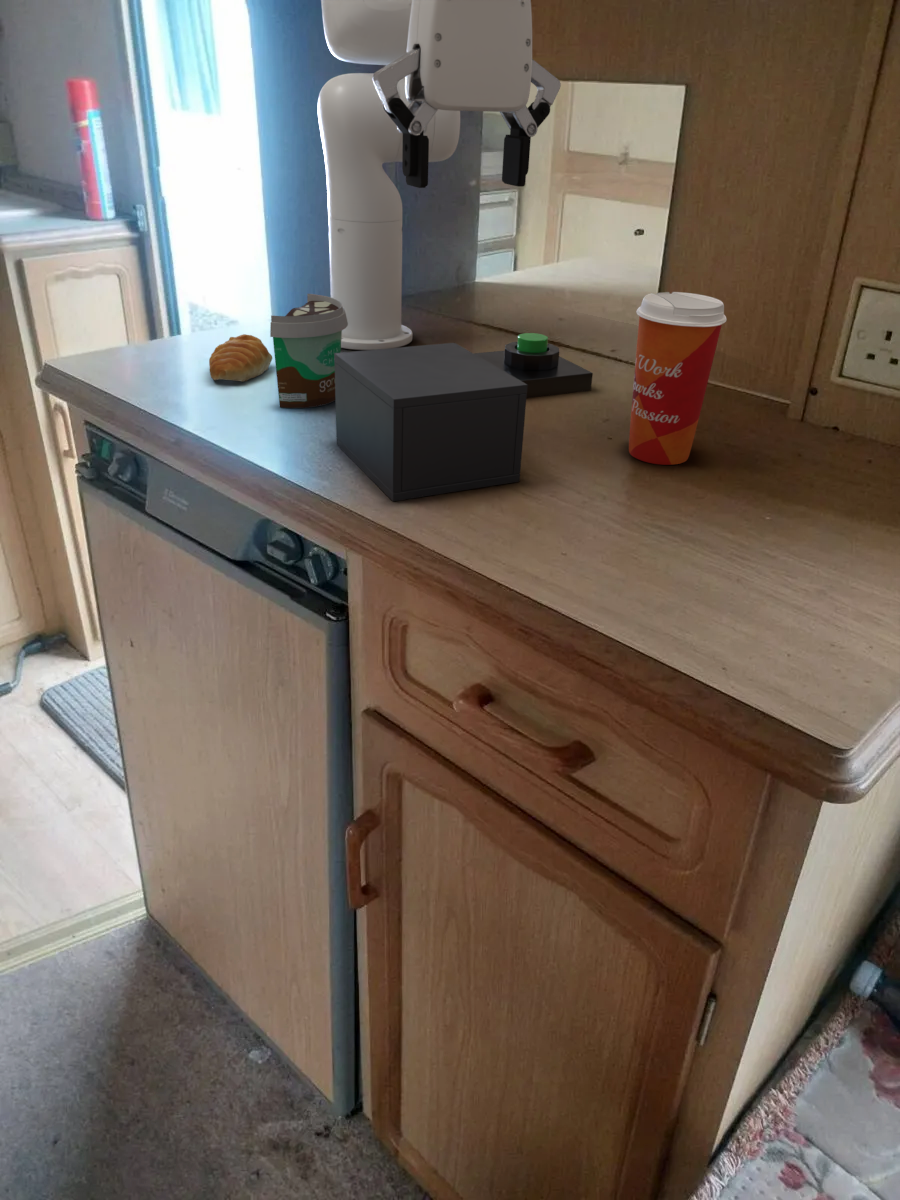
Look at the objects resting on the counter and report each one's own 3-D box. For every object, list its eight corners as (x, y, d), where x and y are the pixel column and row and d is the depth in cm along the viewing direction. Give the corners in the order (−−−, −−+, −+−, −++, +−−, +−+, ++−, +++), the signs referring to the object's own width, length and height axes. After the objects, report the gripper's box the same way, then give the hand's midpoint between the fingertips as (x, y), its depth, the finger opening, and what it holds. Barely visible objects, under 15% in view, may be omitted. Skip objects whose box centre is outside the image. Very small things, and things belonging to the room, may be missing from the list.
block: (470, 370, 114) (472, 338, 112) (539, 364, 118) (542, 332, 116) (517, 399, 105) (520, 365, 103) (590, 391, 109) (594, 357, 107)
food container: (329, 417, 97) (326, 321, 92) (274, 411, 98) (269, 316, 93) (362, 384, 107) (361, 297, 102) (312, 379, 108) (309, 292, 103)
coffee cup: (601, 444, 93) (621, 292, 86) (668, 435, 96) (693, 288, 88) (648, 474, 86) (673, 312, 79) (718, 464, 89) (749, 307, 82)
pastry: (253, 387, 105) (251, 354, 103) (196, 384, 105) (192, 351, 103) (275, 365, 113) (272, 334, 111) (221, 362, 113) (218, 331, 111)
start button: (511, 348, 110) (512, 334, 109) (537, 346, 112) (538, 331, 111) (526, 356, 107) (527, 341, 107) (552, 353, 109) (553, 339, 108)
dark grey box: (336, 444, 90) (334, 353, 86) (451, 430, 95) (454, 342, 90) (393, 501, 79) (393, 399, 74) (519, 481, 84) (527, 384, 79)
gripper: (543, -37, 79) (528, 180, 87) (356, -56, 72) (359, 182, 80) (592, -44, 73) (571, 189, 82) (394, -66, 66) (393, 192, 75)
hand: (466, 185), depth 81 cm, fingers open, 9 cm apart
